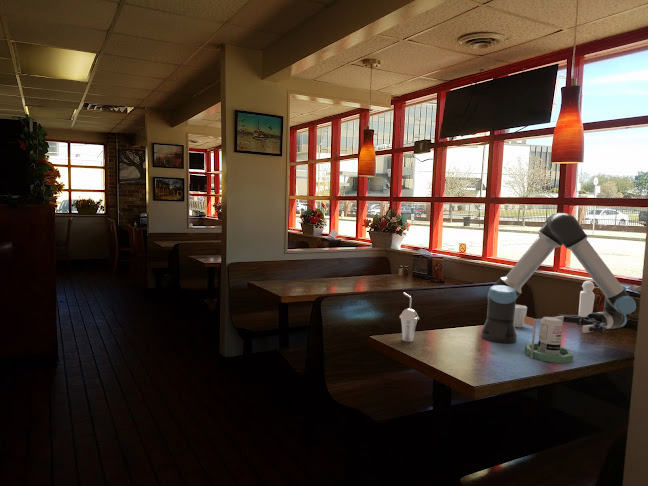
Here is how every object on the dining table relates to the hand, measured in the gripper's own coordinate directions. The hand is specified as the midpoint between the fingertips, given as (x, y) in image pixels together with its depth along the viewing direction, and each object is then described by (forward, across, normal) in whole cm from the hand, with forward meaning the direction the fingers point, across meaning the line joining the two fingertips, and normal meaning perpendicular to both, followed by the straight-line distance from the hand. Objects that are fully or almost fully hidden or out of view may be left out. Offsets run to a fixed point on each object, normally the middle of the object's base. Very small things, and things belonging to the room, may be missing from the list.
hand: (567, 324), depth 195 cm
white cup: (-16, +38, -13) cm, 43 cm away
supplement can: (+10, 0, -12) cm, 16 cm away
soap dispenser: (-64, +33, -12) cm, 73 cm away
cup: (+10, 0, -12) cm, 16 cm away
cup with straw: (+54, +37, -13) cm, 66 cm away
